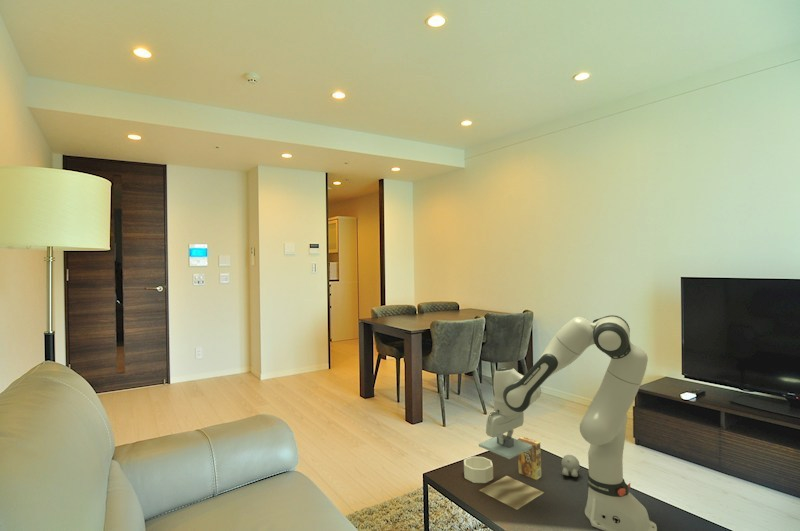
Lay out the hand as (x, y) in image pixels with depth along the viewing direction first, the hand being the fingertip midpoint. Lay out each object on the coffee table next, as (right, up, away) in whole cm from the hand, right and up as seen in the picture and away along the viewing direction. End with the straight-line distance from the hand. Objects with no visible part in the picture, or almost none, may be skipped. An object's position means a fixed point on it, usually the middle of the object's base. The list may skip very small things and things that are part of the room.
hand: (505, 441), depth 170 cm
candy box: (+13, -20, +11) cm, 26 cm away
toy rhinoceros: (+31, -19, +12) cm, 39 cm away
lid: (0, -2, 0) cm, 2 cm away
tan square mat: (+2, -20, -2) cm, 20 cm away
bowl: (-9, -20, +11) cm, 25 cm away
